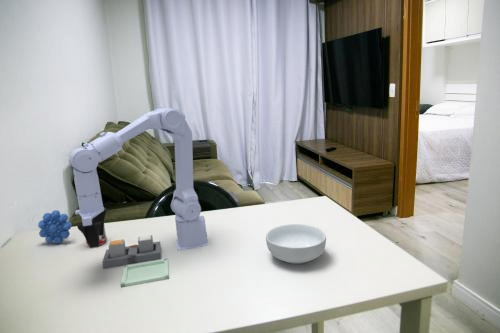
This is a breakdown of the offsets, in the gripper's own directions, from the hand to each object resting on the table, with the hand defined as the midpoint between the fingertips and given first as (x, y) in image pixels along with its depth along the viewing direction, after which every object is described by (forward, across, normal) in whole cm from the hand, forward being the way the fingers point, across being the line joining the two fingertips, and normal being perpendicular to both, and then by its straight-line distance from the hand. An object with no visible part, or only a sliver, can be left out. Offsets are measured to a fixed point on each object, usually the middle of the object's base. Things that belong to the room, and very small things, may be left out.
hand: (96, 240), depth 93 cm
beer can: (+10, -22, -5) cm, 25 cm away
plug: (+10, -6, +4) cm, 12 cm away
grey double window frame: (+10, -6, +8) cm, 14 cm away
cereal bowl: (+10, +10, +54) cm, 56 cm away
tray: (+10, +5, +12) cm, 16 cm away
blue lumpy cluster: (+10, -28, -18) cm, 35 cm away
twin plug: (+10, -6, +12) cm, 17 cm away
